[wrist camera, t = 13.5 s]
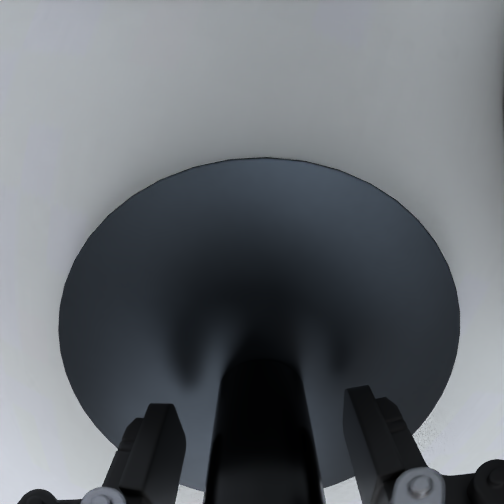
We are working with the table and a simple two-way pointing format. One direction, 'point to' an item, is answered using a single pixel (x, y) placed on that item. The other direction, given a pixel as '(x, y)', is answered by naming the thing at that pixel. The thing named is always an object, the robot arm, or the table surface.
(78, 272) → the bin lid
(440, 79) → the table surface
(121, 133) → the table surface
